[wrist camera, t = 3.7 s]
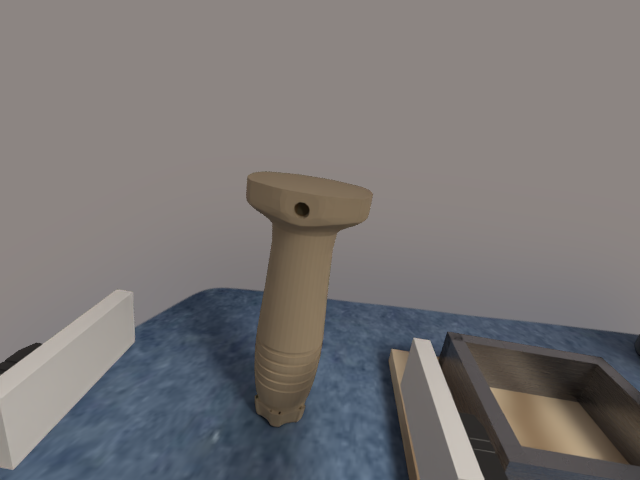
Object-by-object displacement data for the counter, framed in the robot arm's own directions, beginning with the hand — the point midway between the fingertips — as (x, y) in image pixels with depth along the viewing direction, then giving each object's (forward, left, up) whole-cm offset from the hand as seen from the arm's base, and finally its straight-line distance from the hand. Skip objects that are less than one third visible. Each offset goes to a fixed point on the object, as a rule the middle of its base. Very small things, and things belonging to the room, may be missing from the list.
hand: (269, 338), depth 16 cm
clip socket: (-18, -4, -7) cm, 19 cm away
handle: (-1, -4, -9) cm, 9 cm away
